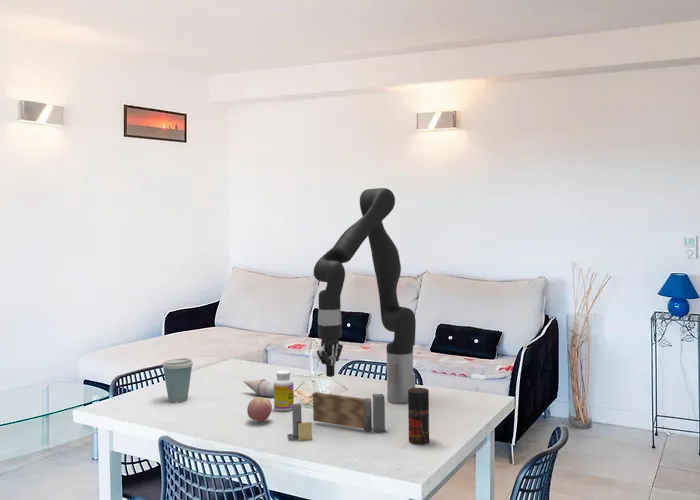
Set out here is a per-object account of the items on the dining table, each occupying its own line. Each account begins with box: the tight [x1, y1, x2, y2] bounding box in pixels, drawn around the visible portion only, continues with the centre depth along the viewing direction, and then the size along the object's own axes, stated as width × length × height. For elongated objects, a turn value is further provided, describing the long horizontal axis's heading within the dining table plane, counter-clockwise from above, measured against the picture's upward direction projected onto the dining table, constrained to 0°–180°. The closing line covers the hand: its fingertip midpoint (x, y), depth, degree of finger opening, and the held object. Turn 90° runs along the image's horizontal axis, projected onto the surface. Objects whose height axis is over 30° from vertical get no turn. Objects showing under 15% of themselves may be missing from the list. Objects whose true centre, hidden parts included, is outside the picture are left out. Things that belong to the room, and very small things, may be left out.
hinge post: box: [372, 393, 387, 434], centre depth 208 cm, size 4×4×11 cm
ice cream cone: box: [243, 378, 274, 398], centre depth 251 cm, size 6×6×15 cm
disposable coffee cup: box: [162, 357, 194, 403], centre depth 246 cm, size 11×11×15 cm
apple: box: [246, 396, 273, 423], centre depth 219 cm, size 8×8×8 cm
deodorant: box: [407, 387, 430, 446], centre depth 197 cm, size 6×6×15 cm
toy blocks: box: [286, 403, 313, 442], centre depth 203 cm, size 7×5×10 cm
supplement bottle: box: [273, 370, 295, 413], centre depth 232 cm, size 7×7×13 cm
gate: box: [312, 391, 373, 432], centre depth 211 cm, size 20×2×10 cm, turn 61°
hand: (330, 376), depth 219 cm, fingers closed
